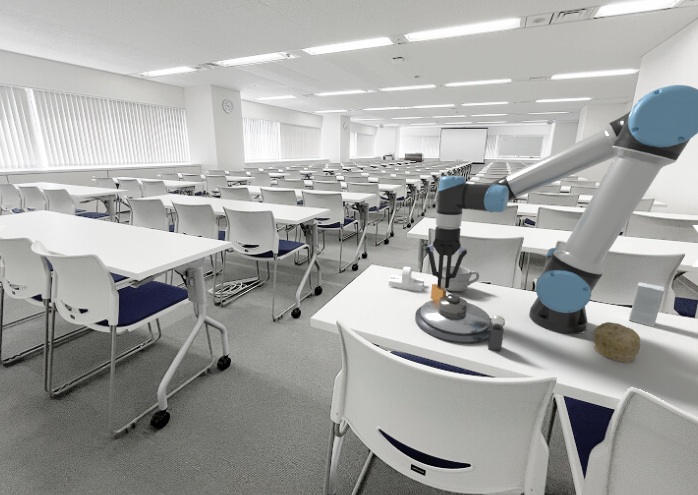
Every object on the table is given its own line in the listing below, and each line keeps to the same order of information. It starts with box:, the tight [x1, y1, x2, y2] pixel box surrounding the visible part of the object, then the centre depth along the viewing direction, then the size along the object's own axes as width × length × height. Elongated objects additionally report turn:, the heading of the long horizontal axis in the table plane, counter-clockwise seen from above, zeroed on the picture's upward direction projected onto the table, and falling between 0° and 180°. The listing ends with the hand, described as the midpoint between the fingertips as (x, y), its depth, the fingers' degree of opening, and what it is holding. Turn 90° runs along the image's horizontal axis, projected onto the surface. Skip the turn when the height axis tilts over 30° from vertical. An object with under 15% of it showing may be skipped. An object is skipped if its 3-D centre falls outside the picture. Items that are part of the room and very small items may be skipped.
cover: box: [438, 293, 468, 320], centre depth 98 cm, size 8×8×6 cm
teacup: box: [442, 265, 480, 292], centre depth 124 cm, size 14×11×8 cm
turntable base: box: [414, 306, 492, 345], centre depth 100 cm, size 23×23×1 cm
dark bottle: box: [487, 315, 506, 353], centre depth 86 cm, size 3×3×9 cm
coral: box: [592, 321, 641, 364], centre depth 85 cm, size 9×9×8 cm
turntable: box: [420, 283, 491, 336], centre depth 99 cm, size 20×22×7 cm
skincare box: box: [628, 281, 665, 328], centre depth 101 cm, size 6×4×12 cm
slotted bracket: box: [387, 266, 425, 292], centre depth 127 cm, size 13×7×8 cm, turn 71°
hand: (442, 296), depth 108 cm, fingers closed
